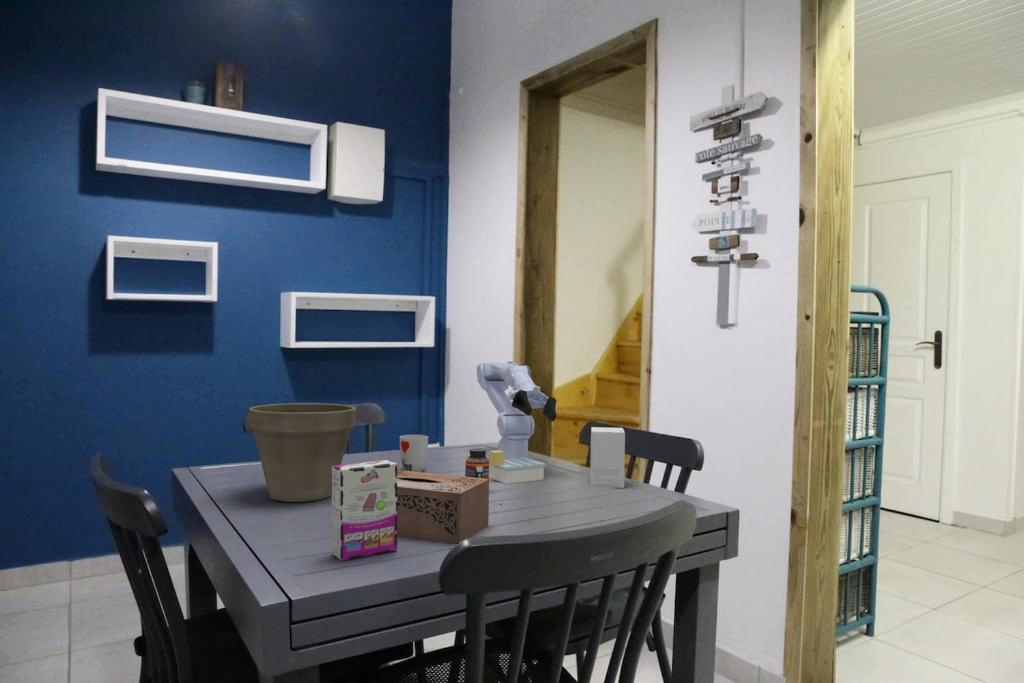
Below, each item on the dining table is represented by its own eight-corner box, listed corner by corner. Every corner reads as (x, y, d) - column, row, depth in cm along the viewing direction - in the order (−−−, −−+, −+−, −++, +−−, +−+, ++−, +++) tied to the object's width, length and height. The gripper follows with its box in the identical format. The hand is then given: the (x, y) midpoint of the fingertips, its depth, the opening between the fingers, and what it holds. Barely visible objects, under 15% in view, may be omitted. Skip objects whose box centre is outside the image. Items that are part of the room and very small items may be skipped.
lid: (482, 464, 196) (483, 449, 196) (525, 460, 203) (526, 445, 203) (501, 471, 188) (501, 454, 187) (545, 466, 195) (545, 450, 195)
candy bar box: (385, 544, 137) (387, 458, 136) (397, 551, 133) (399, 463, 132) (329, 554, 130) (330, 464, 130) (340, 562, 126) (341, 469, 126)
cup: (395, 469, 207) (396, 435, 207) (422, 467, 211) (423, 434, 211) (403, 475, 200) (404, 439, 200) (431, 473, 204) (432, 438, 203)
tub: (488, 479, 196) (488, 465, 196) (525, 475, 203) (525, 461, 203) (506, 486, 189) (506, 471, 189) (543, 481, 195) (543, 467, 195)
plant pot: (305, 480, 191) (306, 399, 191) (375, 492, 179) (376, 405, 178) (224, 498, 170) (226, 407, 170) (298, 514, 157) (299, 415, 157)
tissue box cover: (345, 529, 147) (346, 481, 147) (381, 513, 161) (382, 468, 160) (459, 545, 138) (460, 493, 138) (488, 526, 152) (489, 479, 151)
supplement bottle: (485, 498, 175) (486, 451, 175) (462, 496, 176) (462, 450, 176) (491, 492, 181) (492, 448, 181) (468, 491, 182) (469, 446, 182)
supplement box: (622, 481, 198) (624, 427, 197) (624, 488, 189) (625, 431, 189) (589, 480, 199) (590, 426, 198) (590, 487, 190) (591, 430, 189)
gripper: (509, 372, 201) (524, 397, 189) (554, 384, 207) (570, 408, 195) (500, 394, 203) (513, 419, 191) (544, 404, 209) (560, 429, 197)
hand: (542, 415), depth 193 cm, fingers open, 7 cm apart
